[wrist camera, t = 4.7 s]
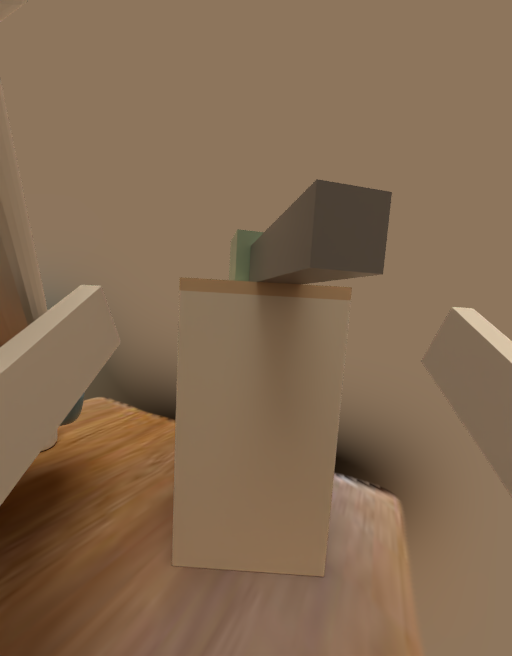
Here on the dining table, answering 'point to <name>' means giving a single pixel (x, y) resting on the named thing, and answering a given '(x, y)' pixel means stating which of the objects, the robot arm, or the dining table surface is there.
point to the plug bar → (317, 238)
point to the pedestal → (257, 423)
